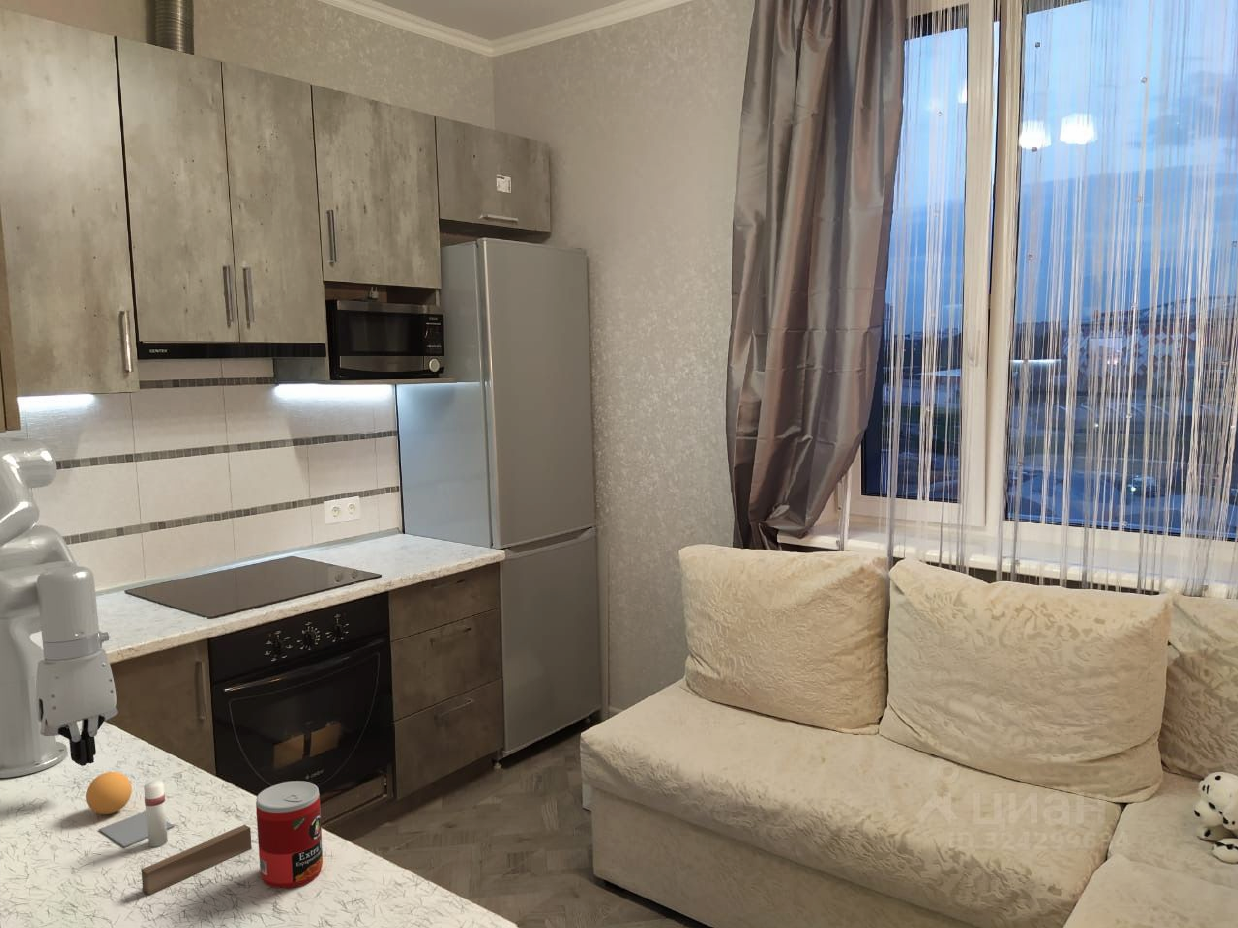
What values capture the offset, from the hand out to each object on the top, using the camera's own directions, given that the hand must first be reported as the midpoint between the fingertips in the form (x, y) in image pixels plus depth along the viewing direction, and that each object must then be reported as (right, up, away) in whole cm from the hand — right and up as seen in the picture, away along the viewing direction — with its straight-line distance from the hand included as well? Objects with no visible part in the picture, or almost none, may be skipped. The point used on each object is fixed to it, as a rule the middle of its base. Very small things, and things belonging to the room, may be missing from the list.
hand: (84, 762), depth 141 cm
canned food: (+41, -8, -22) cm, 47 cm away
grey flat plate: (+13, -6, -10) cm, 18 cm away
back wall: (+28, -7, -21) cm, 35 cm away
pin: (+19, -7, -14) cm, 24 cm away
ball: (+7, -3, -5) cm, 9 cm away
